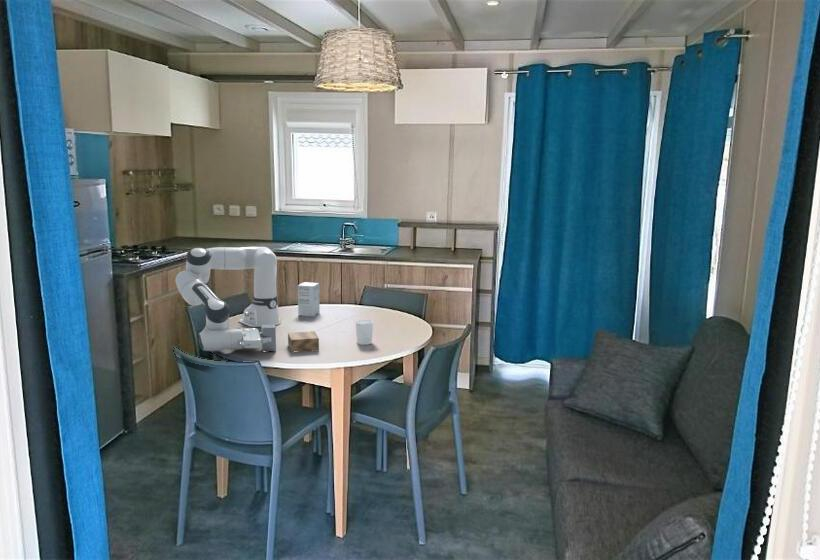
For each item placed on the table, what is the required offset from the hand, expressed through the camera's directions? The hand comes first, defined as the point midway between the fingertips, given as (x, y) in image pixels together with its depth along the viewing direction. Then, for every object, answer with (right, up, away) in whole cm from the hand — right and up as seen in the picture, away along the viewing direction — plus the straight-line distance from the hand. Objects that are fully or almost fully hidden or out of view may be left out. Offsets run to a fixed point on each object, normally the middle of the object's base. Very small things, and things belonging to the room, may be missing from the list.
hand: (270, 337), depth 280 cm
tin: (-1, -6, +1) cm, 6 cm away
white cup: (+40, -4, +15) cm, 43 cm away
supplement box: (+6, +6, +69) cm, 70 cm away
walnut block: (+13, -6, +6) cm, 16 cm away
